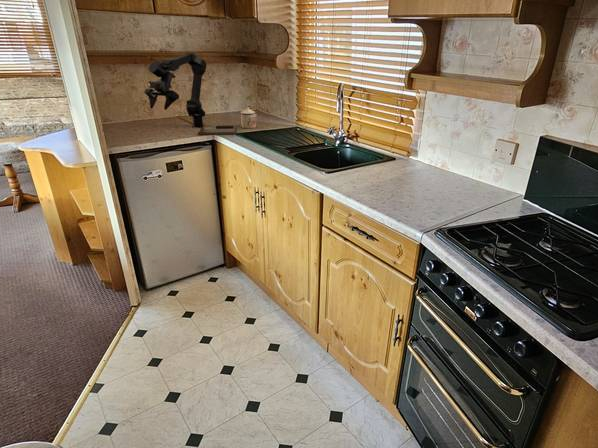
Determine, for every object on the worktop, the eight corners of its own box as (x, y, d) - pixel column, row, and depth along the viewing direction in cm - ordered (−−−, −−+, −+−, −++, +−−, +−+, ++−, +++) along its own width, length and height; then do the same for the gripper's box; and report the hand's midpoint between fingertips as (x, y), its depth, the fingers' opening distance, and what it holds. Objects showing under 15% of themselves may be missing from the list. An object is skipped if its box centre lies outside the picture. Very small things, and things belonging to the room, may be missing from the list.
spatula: (203, 130, 239) (203, 127, 238) (205, 128, 244) (204, 125, 244) (232, 130, 241) (232, 126, 241) (233, 127, 247) (233, 124, 246)
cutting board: (200, 131, 236) (200, 129, 235) (235, 131, 239) (235, 128, 238) (198, 135, 228) (198, 132, 227) (234, 134, 230) (234, 131, 230)
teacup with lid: (249, 129, 244) (247, 109, 239) (238, 127, 248) (236, 107, 244) (262, 126, 253) (261, 106, 248) (251, 124, 258) (250, 105, 253)
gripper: (140, 73, 214) (133, 101, 212) (169, 75, 208) (161, 103, 207) (155, 83, 225) (148, 110, 223) (182, 85, 219) (175, 112, 217)
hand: (158, 109), depth 217 cm, fingers open, 9 cm apart
